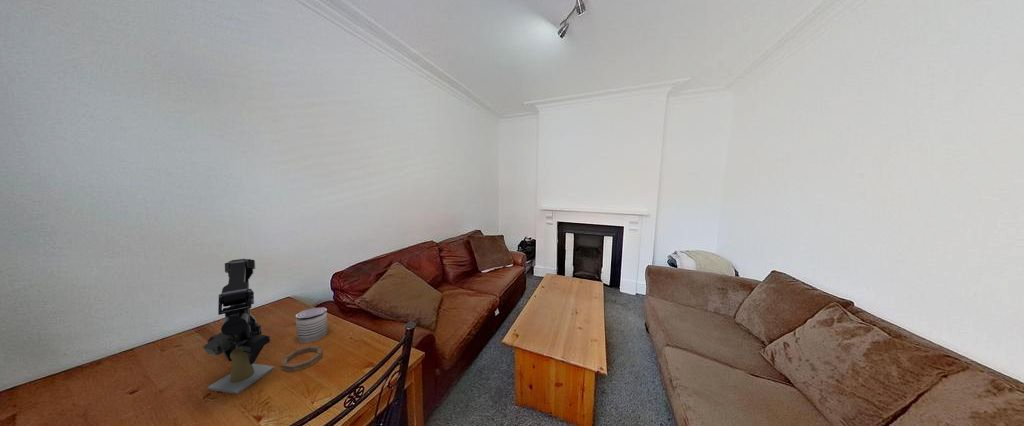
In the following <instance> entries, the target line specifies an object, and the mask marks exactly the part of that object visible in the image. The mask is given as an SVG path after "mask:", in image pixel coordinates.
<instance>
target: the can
mask: <svg viewBox="0 0 1024 426" xmlns="http://www.w3.org/2000/svg"><path fill="white" fill-rule="evenodd" d="M327 310H328V309H327V308H326V307H324V306H323V307H312V308H309V309H305V310H301V311H300V312H299V313H297V314H296V315H295V322H296V323H295V324H296V336H297V340H298V342H299V343H304V344H305V343H310V342H314V341H317V340H319V339H321V338H323V337H325V336H326V334H327V333H328V318H327V315H328V314H327V313H328V312H327Z"/></svg>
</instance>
